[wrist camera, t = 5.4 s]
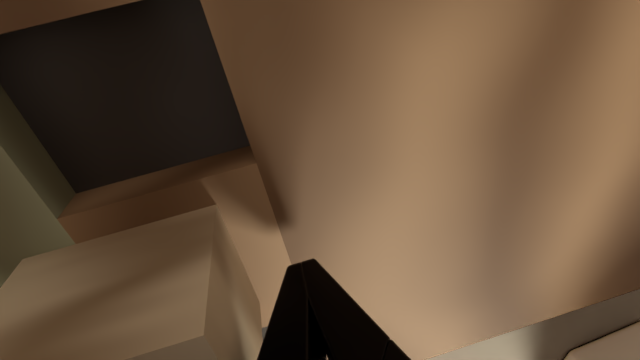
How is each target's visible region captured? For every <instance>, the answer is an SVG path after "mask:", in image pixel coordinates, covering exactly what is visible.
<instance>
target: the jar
mask: <svg viewBox="0 0 640 360" xmlns="http://www.w3.org/2000/svg"><path fill="white" fill-rule="evenodd" d="M564 360H640V322H637V323H635V324H632V325H630V326H628V327H625V328H623V329H621V330H618V331H616V332H614V333H611V334H609V335H607V336H604V337H602V338H600V339H597V340H595V341H593V342H590V343H588V344H586V345H583V346H581V347H578V348H576V349H574V350H571V351H570V352H569V353H568V355H567V356H566V357H565V359H564Z"/></svg>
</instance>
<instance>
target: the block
mask: <svg viewBox="0 0 640 360" xmlns="http://www.w3.org/2000/svg"><path fill="white" fill-rule="evenodd" d="M262 342H263V338H262V324H261V309H260V302H259V300H258V297H257V295H256V293H255V291H254V288H253V286H252V284H251V282H250V279H249V277H248V275H247V273H246V270H245V268H244V266H243V263H242V261H241V259H240V257H239V254H238V252H237V250H236V248H235V245H234V243H233V241H232V239H231V236H230V234H229V232H228V229H227V227H226V225H225V223H224V220H223V218H222V216H221V214H220V211H219V209H218V207H217V205H212V206H209V207H205V208H202V209H198V210H195V211H191V212H188V213H184V214H180V215H177V216H173V217H170V218H166V219H163V220H159V221H156V222H152V223H149V224H145V225H142V226H138V227H134V228H131V229H127V230H124V231H120V232H117V233H113V234H110V235H106V236H103V237H99V238H96V239H92V240H88V241H85V242H81V243H78V244H74V245H71V246H67V247H64V248H60V249H57V250H53V251H50V252H46V253H42V254H39V255H35V256H32V257H28V258H25V259H22V261H21V262H20V263H19V264H18V266H17V267H16V268H15V270H14V271H13V272H12V273H11V275H10V276H9V277H8V279H7V280H6V281H5V283H4V284H3V285H2V286H1V288H0V360H257V357H258V354H259V351H260V348H261V345H262Z"/></svg>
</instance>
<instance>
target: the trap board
mask: <svg viewBox="0 0 640 360" xmlns="http://www.w3.org/2000/svg"><path fill="white" fill-rule="evenodd" d="M212 205H217V207H218V209H219V211H220V214H221V216H222V218H223V220H224V223H225V225H226V227H227V229H228V232H229V234H230V236H231V239H232V241H233V243H234V245H235V248H236V250H237V252H238V254H239V257H240V259H241V261H242V263H243V266H244V268H245V270H246V273H247V275H248V277H249V279H250V282H251V284H252V286H253V288H254V291H255V293H256V295H257V297H258V300H259V302H260V309H261V324H262V338H263V339H264V336H265V333H266V330H267V327H268V324H269V321H270V318H271V315H272V312H273V309H274V306H275V302H276V299H277V296H278V293H279V290H280V287H281V284H282V281H283V278H284V275H285V272H286V269H287V267H288V266H289V265H292V264H296V263H299V262H302V261H305V260H309V259H312V258H314V259H316V260H317V261H318V262H319V263H320V264H321V265H322V266H323V268H324V269H325V270H326V271H327V272H328V273H329V274H330V275H331V276H332V277H333V278H334V279H335V280H336V281H337V282H338V283H339V284H340V285H341V287H342V288H343V289H344V290H345V291H346V292H347V293H348V294H349V295H350V296H351V297H352V298H353V299H354V300H355V301H356V302H357V303H358V304H359V306H360V307H361V308H362V309H363V310H364V311H365V312H366V313H367V314H368V315H369V316H370V317H371V318H372V319H373V320H374V321H375V322H376V323H377V325H378V326H379V327H380V328H381V329H382V330H383V331H384V332H385V333H386V334H387V335H388V336H389V337H390V340H393V341H394V342H395V343H396V344H397V345H398V346H399V348H400V349H401V350H402V351H403V352H404V353H405V354H406V355H407V356H408V357H409V358H410V359H411V360H426V359H429V358H432V357H435V356H438V355H441V354H444V353H447V352H450V351H453V350H456V349H459V348H462V347H465V346H468V345H471V344H474V343H477V342H480V341H484V340H487V339H490V338H493V337H496V336H499V335H502V334H505V333H508V332H511V331H514V330H517V329H520V328H523V327H526V326H529V325H532V324H535V323H538V322H541V321H544V320H547V319H550V318H553V317H556V316H559V315H562V314H565V313H568V312H571V311H574V310H577V309H580V308H583V307H586V306H589V305H592V304H595V303H598V302H601V301H605V300H608V299H611V298H614V297H617V296H620V295H623V294H626V293H629V292H632V291H635V290H638V289H640V0H0V288H1V286H2V285H3V284H4V283H5V281H6V280H7V279H8V277H9V276H10V275H11V273H12V272H13V271H14V270H15V268H16V267H17V266H18V264H19V263H20V262H21V261H22V259H25V258H28V257H32V256H35V255H39V254H42V253H46V252H50V251H53V250H57V249H60V248H64V247H67V246H71V245H74V244H78V243H81V242H85V241H88V240H92V239H96V238H99V237H103V236H106V235H110V234H113V233H117V232H120V231H124V230H127V229H131V228H134V227H138V226H142V225H145V224H149V223H152V222H156V221H159V220H163V219H166V218H170V217H173V216H177V215H180V214H184V213H188V212H191V211H195V210H198V209H202V208H205V207H209V206H212ZM326 357H327V355H326ZM327 360H328V358H327Z"/></svg>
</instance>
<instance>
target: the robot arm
mask: <svg viewBox="0 0 640 360" xmlns="http://www.w3.org/2000/svg"><path fill="white" fill-rule="evenodd" d="M326 355H327V357H326ZM327 358H328V360H411V359H410V358H409V357H408V356H407V355H406V354H405V353H404V352H403V351H402V350H401V349H400V348H399V346H398V345H397V344H396V343H395V342H394V341H393V340H390V337H389V336H388V335H387V334H386V333H385V332H384V331H383V330H382V329H381V328H380V327H379V326H378V325H377V323H376V322H375V321H374V320H373V319H372V318H371V317H370V316H369V315H368V314H367V313H366V312H365V311H364V310H363V309H362V308H361V307H360V306H359V304H358V303H357V302H356V301H355V300H354V299H353V298H352V297H351V296H350V295H349V294H348V293H347V292H346V291H345V290H344V289H343V288H342V287H341V285H340V284H339V283H338V282H337V281H336V280H335V279H334V278H333V277H332V276H331V275H330V274H329V273H328V272H327V271H326V270H325V269H324V268H323V266H322V265H321V264H320V263H319V262H318V261H317V260H316V259H314V258H312V259H309V260H305V261H302V262H299V263H296V264H292V265H289V266H288V267H287V269H286V272H285V275H284V278H283V281H282V284H281V287H280V290H279V293H278V296H277V299H276V302H275V306H274V309H273V312H272V315H271V318H270V321H269V324H268V327H267V330H266V333H265V336H264V339H263V342H262V345H261V348H260V351H259V354H258V357H257V360H327Z"/></svg>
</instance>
